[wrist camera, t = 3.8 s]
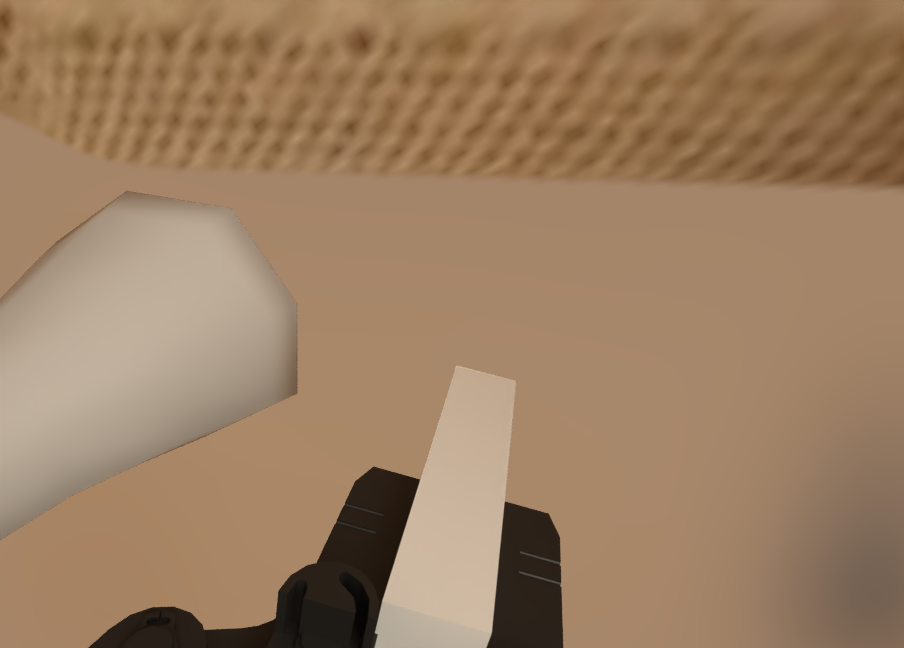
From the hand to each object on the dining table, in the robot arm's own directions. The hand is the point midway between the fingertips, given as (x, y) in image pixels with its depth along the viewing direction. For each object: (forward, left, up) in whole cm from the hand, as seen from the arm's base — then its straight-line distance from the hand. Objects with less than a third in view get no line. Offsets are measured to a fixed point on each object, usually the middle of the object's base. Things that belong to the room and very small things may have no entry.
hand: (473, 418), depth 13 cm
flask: (0, +9, -2) cm, 9 cm away
